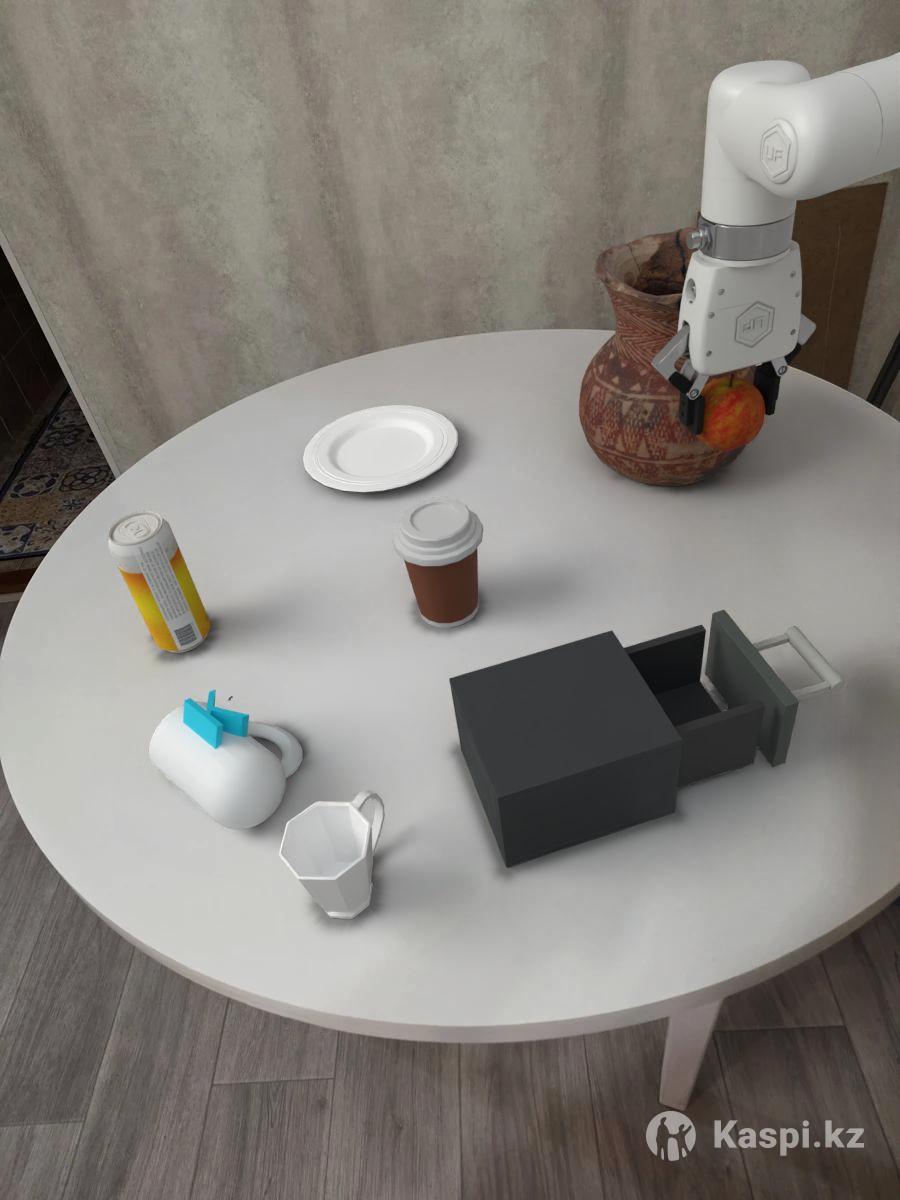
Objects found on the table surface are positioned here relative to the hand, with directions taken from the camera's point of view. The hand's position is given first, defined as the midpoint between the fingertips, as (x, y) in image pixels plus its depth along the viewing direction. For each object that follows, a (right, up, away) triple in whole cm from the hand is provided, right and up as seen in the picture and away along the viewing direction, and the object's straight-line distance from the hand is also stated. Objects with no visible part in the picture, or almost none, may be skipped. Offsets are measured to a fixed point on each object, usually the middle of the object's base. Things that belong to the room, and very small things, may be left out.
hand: (727, 417), depth 85 cm
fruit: (0, -3, +2) cm, 3 cm away
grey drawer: (-4, -29, -9) cm, 31 cm away
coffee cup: (-27, -19, +8) cm, 34 cm away
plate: (-36, +1, +31) cm, 48 cm away
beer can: (-56, -22, +9) cm, 61 cm away
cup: (-35, -41, -15) cm, 55 cm away
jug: (0, 0, +24) cm, 24 cm away
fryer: (-17, -33, -10) cm, 39 cm away
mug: (-45, -34, -6) cm, 57 cm away
